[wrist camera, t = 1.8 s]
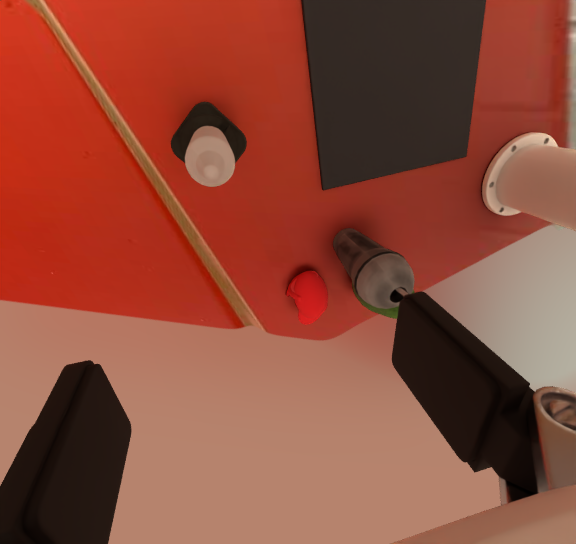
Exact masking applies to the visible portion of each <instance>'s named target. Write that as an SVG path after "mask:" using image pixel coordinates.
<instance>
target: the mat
mask: <svg viewBox="0 0 576 544" xmlns="http://www.w3.org/2000/svg"><path fill="white" fill-rule="evenodd" d="M301 1H302V10H303V19H304V28H305V37H306V46H307V55H308V65H309V74H310V83H311V92H312V101H313V110H314V119H315V128H316V137H317V146H318V156H319V165H320V174H321V183H322V189H323V190H327V189H331V188H335V187H340V186H344V185H348V184H352V183H357V182H361V181H365V180H369V179H374V178H378V177H382V176H386V175H391V174H395V173H399V172H403V171H408V170H412V169H416V168H420V167H425V166H429V165H433V164H437V163H442V162H446V161H450V160H454V159H459V158H463V157H466V156H467V148H468V140H469V132H470V124H471V116H472V108H473V100H474V92H475V84H476V76H477V68H478V60H479V52H480V44H481V36H482V28H483V20H484V12H485V4H486V0H301Z"/></svg>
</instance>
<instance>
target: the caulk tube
mask: <svg viewBox="0 0 576 544" xmlns="http://www.w3.org/2000/svg"><path fill="white" fill-rule="evenodd" d="M246 144H247V141H246V137H245V135H244V134H243V133H242V131H241V130H240V129H238V128H237V127H236V126H235V125H234V124H233V123H232V122H231V121H230V120H229V119H228V118H227V117H225V116H224V115H223V114H222V113H221V112H220V111H219V110H218V109H217V108H216V107H215V106H214V105H212V104H211V103H209V102H201V103H198V104H197V105H195V106H194V107H193V109H192V110H191V111H190V113H189V114H188V116H187V117H186V119H185V120H184V121H183V123H182V124H181V126H180V127H179V128H178V130H177V131H176V133H175V134H174V135H173V137H172V140H171V148H172V150H173V152H174V154H175V155H176V156H177V157H178V158H179V159H181V160H182V161H183V162H184V163H185V164H186V168H187V171H188V172H189V174H190V175H191V177H192V178H193V179H194V180H195V181H197V182H198V183H200V184H202V185H205V186H209V187H215V186H220V185H222V184H224V183H226V182H227V181H228V180H229V179H230V178H231V176H232V174H233V172H234V168H235V163H236V161H237V160H238V159H239V158H240V156H241V155H242V154H243V153H244V151H245V149H246Z"/></svg>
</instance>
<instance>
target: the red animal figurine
mask: <svg viewBox="0 0 576 544" xmlns="http://www.w3.org/2000/svg"><path fill="white" fill-rule="evenodd" d="M286 295H287V296H291V297H292V298H294V300H295V304H296V306H297V308H298V310H299V313H298V318H299V321H300V322H301V323H302V324H311V323H313V322H314V321H316V320H317V319H318V318H319V317H320V316H321V314H322V313H323V312H324V311H325V310H326V308H327V305H328V304H327V302H328V292H327V288H326V285H325V283H324V281H323V279H322V278H321V277H320V276H319V275H318V273H317V272H315V271H305V272H303V273H301V274H299V275H297V276H296V277H295V278H294V279H293V280H292V281H291V283H290V284H289V286H288V290H287V292H286Z"/></svg>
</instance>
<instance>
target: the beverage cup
mask: <svg viewBox="0 0 576 544" xmlns="http://www.w3.org/2000/svg"><path fill="white" fill-rule="evenodd" d="M333 247H334V250H335V251H336V254H337V256H338V258H339V259H340V261H341V263H342V264H343V266H344V268H345V269H346V271H347V273H348V274H349V276H350V278H351V279H352V282H353V285H354V287H355V291H356V293H357V295H358V296H359V297H360V298H361V299H363V300H364V301H365V302H367V303H368V304H370V305H372V306H374V307H377V308H384V309H389V308H394V307H397V306H399V303H400V301H401V300H403V297H404V296H405V295H407V294H411V293H412V291H413V287H414V275H413V271H412V269H411V267H410V266H409V264H408V263H407V261H406V260H405V258H404V257H403V256H402V255H400V254H399V253H397V252H393V251H391V250H389V249H385V248H384V247H382V246H381V245H379V244H378V243H376V242H374V241H373V240H371V239H370V238H368V237H367V236H365V235H363V234H362V233H360V232H358V231H356V230H355V229H351V228H347V229H343V230H341V231H340V232H339V233H337V235H336V236H335V238H334V241H333Z"/></svg>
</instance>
